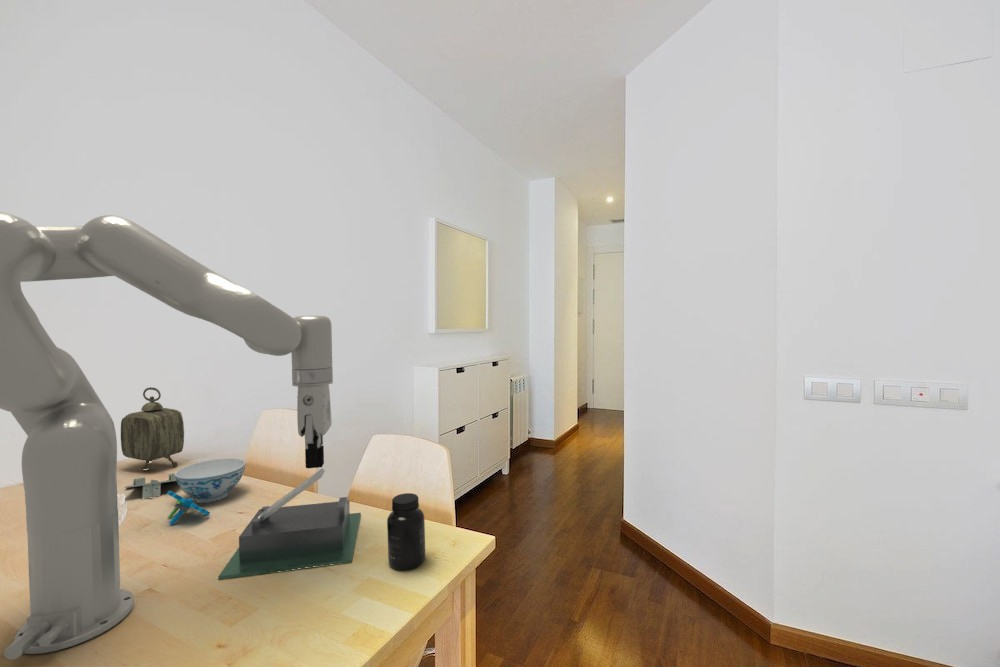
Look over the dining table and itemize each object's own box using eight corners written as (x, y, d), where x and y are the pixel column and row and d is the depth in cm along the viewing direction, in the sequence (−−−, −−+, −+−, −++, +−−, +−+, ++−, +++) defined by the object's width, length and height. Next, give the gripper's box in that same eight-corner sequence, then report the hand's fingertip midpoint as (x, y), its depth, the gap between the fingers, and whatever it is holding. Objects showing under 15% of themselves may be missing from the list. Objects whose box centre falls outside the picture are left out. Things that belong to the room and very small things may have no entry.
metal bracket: (187, 471, 113) (112, 481, 106) (186, 494, 111) (111, 506, 104) (195, 470, 125) (130, 479, 118) (195, 491, 124) (128, 501, 117)
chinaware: (204, 513, 100) (204, 481, 100) (160, 505, 105) (159, 474, 104) (259, 489, 114) (259, 461, 114) (218, 483, 119) (217, 455, 119)
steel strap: (322, 477, 85) (318, 473, 85) (257, 525, 83) (254, 521, 83) (325, 471, 89) (322, 467, 89) (263, 517, 86) (260, 513, 86)
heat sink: (351, 562, 79) (350, 522, 79) (218, 579, 74) (217, 537, 74) (360, 515, 99) (360, 483, 98) (255, 526, 94) (255, 492, 93)
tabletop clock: (185, 465, 133) (182, 386, 133) (154, 476, 125) (152, 391, 124) (150, 461, 137) (148, 384, 137) (119, 471, 129) (116, 389, 128)
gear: (217, 512, 97) (177, 490, 92) (196, 538, 93) (153, 517, 88) (204, 505, 104) (166, 484, 99) (184, 529, 101) (144, 509, 96)
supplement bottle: (409, 547, 84) (409, 487, 84) (432, 559, 80) (432, 496, 80) (380, 562, 79) (379, 499, 79) (403, 576, 75) (402, 509, 74)
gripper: (326, 381, 80) (328, 478, 80) (337, 371, 94) (339, 453, 95) (282, 383, 78) (285, 481, 79) (300, 373, 93) (303, 456, 93)
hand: (314, 466), depth 87 cm, fingers closed
